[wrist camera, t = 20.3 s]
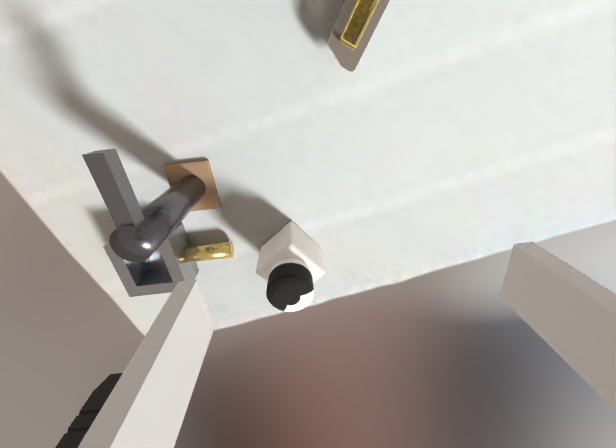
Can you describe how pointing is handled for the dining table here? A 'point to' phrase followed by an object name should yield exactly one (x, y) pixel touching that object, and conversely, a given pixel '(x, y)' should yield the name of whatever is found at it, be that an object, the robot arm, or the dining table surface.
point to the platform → (354, 30)
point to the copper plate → (201, 171)
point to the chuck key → (127, 213)
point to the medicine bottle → (290, 268)
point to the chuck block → (166, 264)
